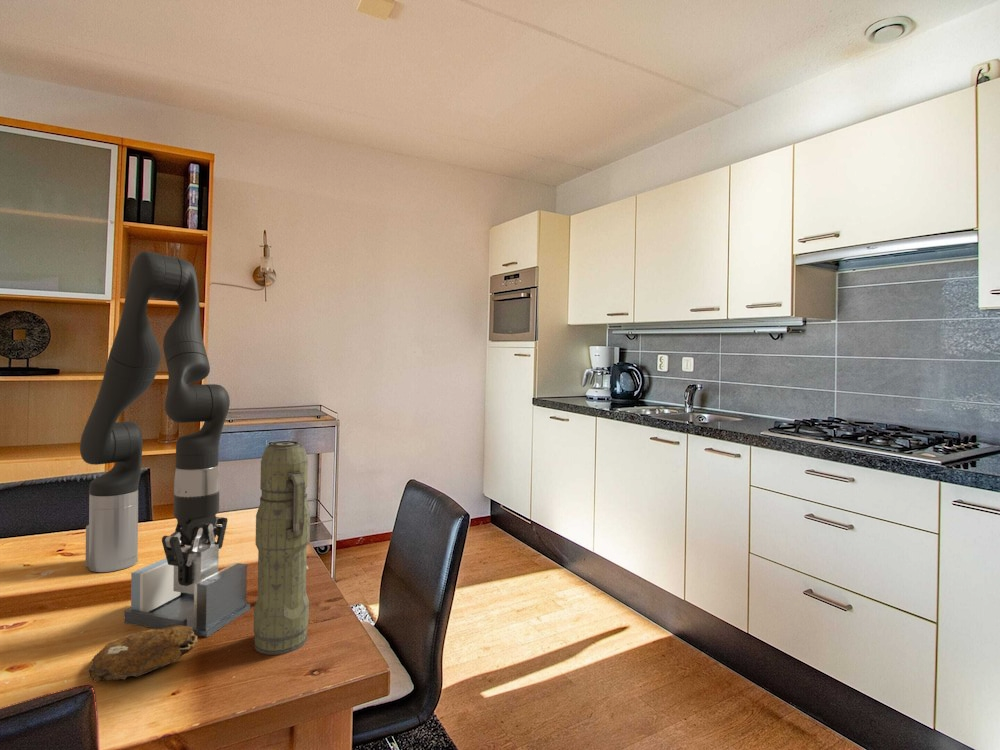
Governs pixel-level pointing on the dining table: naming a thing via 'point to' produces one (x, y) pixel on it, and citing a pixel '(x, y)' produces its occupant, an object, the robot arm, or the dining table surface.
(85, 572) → the dining table surface
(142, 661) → the decorative rock
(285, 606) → the thermos
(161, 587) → the block
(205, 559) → the steel block
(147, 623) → the vise
